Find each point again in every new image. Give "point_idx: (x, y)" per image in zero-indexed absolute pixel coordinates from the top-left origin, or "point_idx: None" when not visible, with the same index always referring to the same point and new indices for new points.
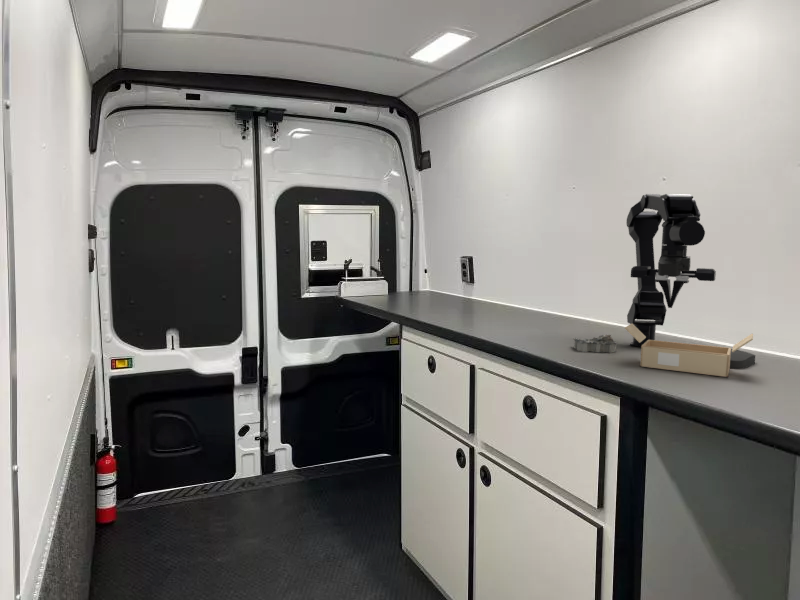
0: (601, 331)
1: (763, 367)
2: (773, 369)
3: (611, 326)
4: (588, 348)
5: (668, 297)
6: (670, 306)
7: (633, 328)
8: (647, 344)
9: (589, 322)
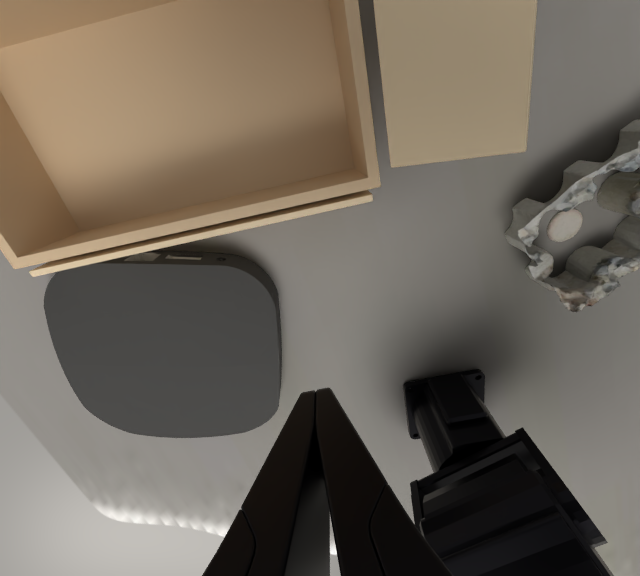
0: (592, 501)
1: (47, 347)
2: (12, 340)
3: None
4: (625, 152)
5: (333, 462)
6: (310, 395)
7: (483, 46)
8: (352, 74)
9: (632, 571)
